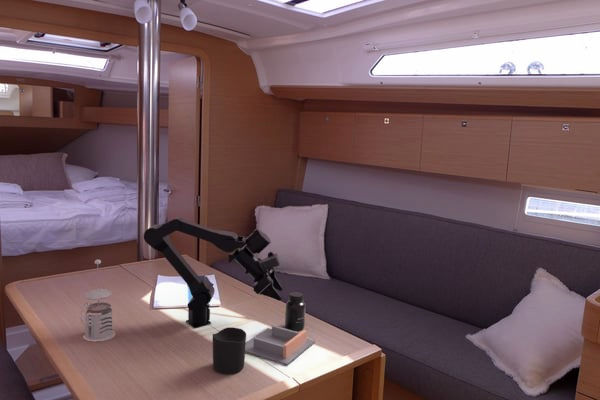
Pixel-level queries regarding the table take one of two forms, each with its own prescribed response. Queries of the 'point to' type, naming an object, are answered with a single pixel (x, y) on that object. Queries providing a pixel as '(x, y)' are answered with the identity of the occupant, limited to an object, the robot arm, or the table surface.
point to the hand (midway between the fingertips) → (281, 294)
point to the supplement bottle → (295, 312)
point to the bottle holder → (279, 345)
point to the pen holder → (229, 350)
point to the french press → (94, 329)
